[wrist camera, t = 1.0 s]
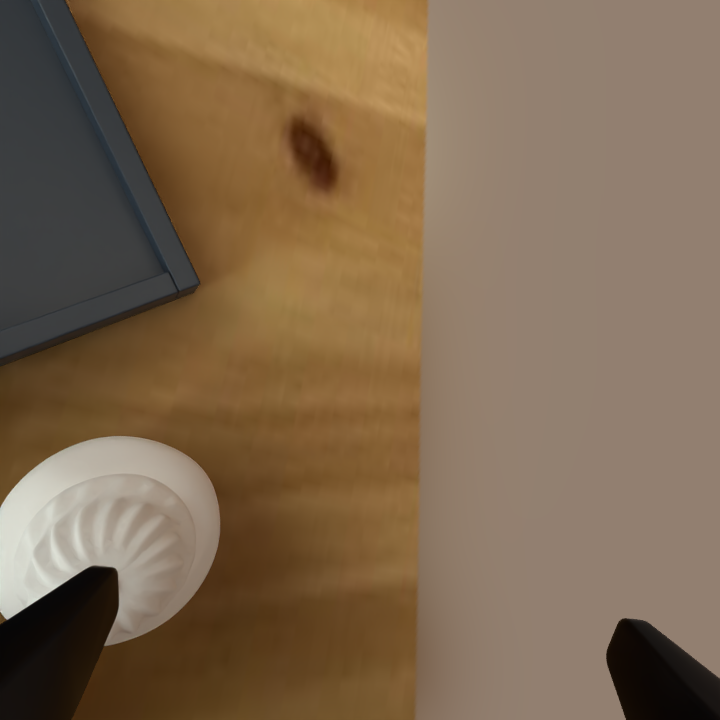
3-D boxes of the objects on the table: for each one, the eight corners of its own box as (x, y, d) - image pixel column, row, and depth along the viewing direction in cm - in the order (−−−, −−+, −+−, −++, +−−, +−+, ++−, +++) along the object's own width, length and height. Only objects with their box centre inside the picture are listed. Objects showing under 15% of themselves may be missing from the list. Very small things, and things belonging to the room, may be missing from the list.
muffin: (92, 626, 16) (60, 793, 10) (-27, 497, 15) (-153, 597, 9) (238, 511, 19) (286, 587, 12) (147, 389, 17) (148, 405, 11)
